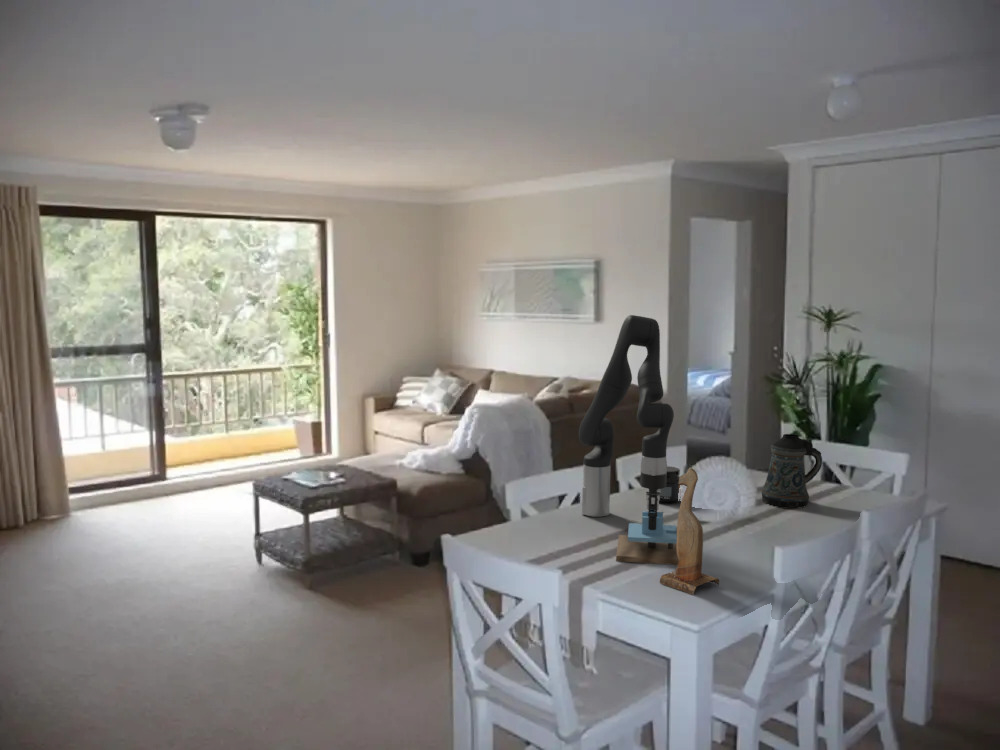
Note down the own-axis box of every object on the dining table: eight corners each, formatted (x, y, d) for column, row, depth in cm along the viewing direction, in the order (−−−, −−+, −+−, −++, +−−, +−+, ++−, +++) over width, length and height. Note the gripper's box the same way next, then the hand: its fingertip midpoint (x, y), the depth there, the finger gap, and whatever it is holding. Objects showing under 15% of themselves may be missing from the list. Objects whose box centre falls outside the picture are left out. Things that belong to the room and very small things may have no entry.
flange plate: (627, 541, 239) (628, 520, 239) (628, 527, 253) (629, 507, 252) (677, 543, 237) (677, 522, 236) (675, 529, 251) (676, 509, 250)
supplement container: (680, 498, 307) (681, 466, 306) (680, 505, 297) (681, 472, 296) (651, 496, 310) (652, 464, 308) (650, 503, 299) (651, 471, 298)
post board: (616, 560, 238) (616, 535, 237) (618, 539, 257) (619, 516, 256) (687, 565, 234) (688, 539, 233) (684, 543, 253) (685, 519, 253)
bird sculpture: (683, 575, 227) (682, 460, 224) (720, 585, 219) (720, 466, 216) (658, 585, 220) (658, 467, 217) (696, 596, 211) (696, 473, 208)
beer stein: (751, 498, 307) (754, 432, 304) (796, 494, 313) (799, 429, 310) (779, 510, 291) (782, 440, 289) (825, 506, 297) (829, 437, 294)
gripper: (641, 465, 250) (639, 518, 252) (640, 475, 236) (638, 532, 238) (666, 466, 249) (664, 520, 251) (667, 477, 235) (665, 534, 237)
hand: (652, 526), depth 245 cm, fingers closed on flange plate, 6 cm apart
